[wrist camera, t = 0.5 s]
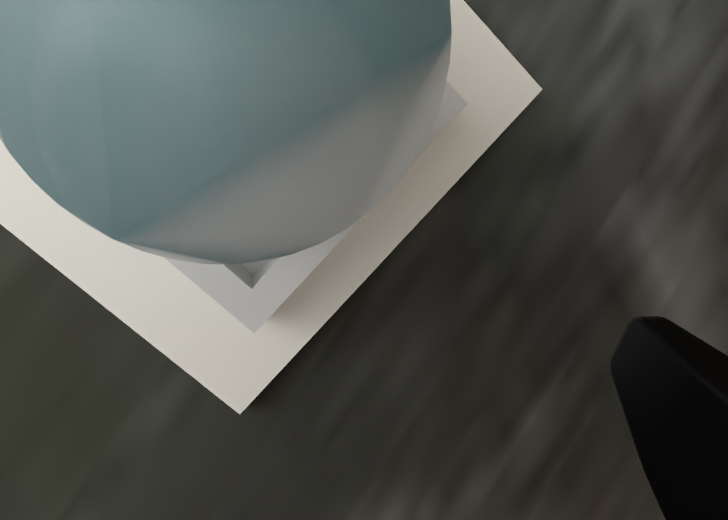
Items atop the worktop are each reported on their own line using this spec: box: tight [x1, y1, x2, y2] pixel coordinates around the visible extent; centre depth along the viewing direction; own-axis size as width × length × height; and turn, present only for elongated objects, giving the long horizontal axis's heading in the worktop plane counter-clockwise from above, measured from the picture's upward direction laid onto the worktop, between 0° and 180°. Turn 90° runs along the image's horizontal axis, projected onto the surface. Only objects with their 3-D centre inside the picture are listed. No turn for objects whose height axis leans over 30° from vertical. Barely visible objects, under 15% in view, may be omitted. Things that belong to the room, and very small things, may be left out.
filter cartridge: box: [0, 0, 452, 264], centre depth 14 cm, size 6×6×13 cm
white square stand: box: [0, 0, 542, 414], centre depth 19 cm, size 16×14×4 cm
